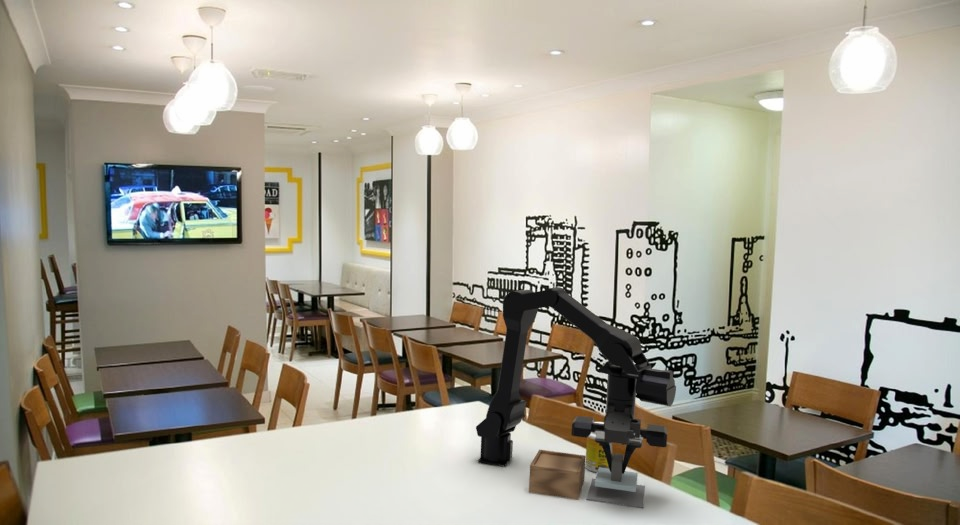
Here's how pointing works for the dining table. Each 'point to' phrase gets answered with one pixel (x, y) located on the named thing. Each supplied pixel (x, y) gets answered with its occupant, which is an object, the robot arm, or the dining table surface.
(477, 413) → the dining table surface
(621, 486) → the lid
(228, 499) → the dining table surface
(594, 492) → the mat
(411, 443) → the dining table surface
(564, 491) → the walnut box
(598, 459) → the supplement bottle
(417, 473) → the dining table surface
